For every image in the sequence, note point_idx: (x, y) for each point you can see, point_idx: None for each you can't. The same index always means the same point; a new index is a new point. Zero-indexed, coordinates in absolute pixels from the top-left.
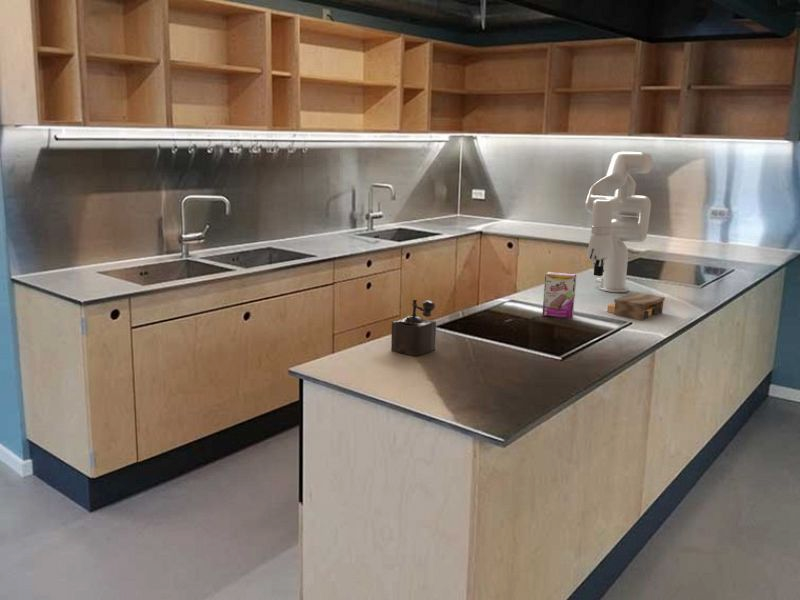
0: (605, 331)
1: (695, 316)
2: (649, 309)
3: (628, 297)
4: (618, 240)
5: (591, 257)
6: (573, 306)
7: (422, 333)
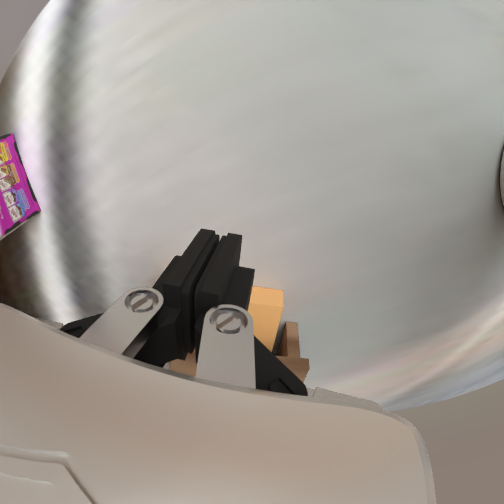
0: (33, 315)
1: None
2: None
3: (188, 366)
4: None
5: (43, 334)
6: (10, 232)
7: None
